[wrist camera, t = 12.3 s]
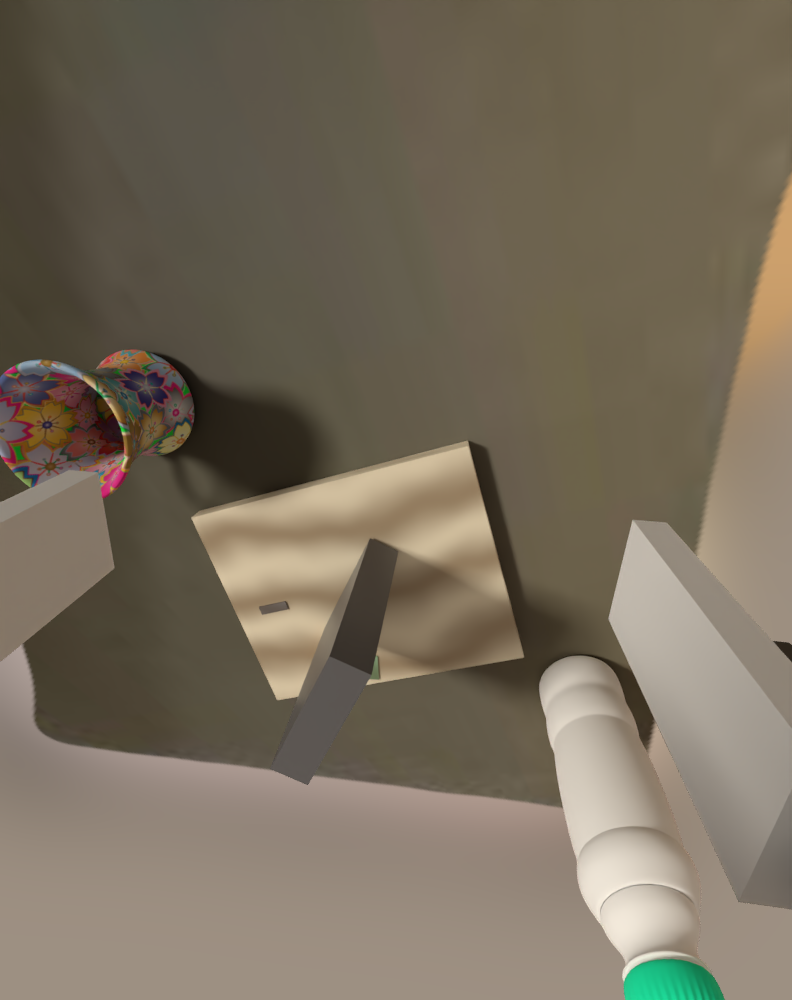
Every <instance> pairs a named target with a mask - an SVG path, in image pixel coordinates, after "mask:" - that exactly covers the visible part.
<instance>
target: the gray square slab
mask: <svg viewBox="0 0 792 1000" xmlns="http://www.w3.org/2000/svg"><path fill="white" fill-rule="evenodd" d="M398 552H399V551H396V550H394V549H392V548H390V547H388V546H386V545H384V544H381V543H379V542H377V541H375V540H373V539H371V538H370V539H369V541H368V543H367V545H366V547H365V549H364V551H363V553H362V555H361V557H360V559H359V561H358V563H357V565H356V567H355V569H354V571H353V573H352V575H351V577H350V579H349V581H348V583H347V585H346V587H345V589H344V591H343V592H342V594H341V596H340V598H339V600H338V602H337V604H336V606H335V608H334V610H333V612H332V614H331V616H330V618H329V620H328V622H327V624H326V626H325V628H324V631H323V633H322V636H321V639H320V641H319V644H318V646H317V649H316V652H315V654H314V657H313V659H312V662H311V665H310V667H309V670H308V672H307V675H306V678H305V680H304V683H303V685H302V688H301V690H300V693H299V696H298V698H297V701H296V703H295V706H294V709H293V711H292V714H291V716H290V719H289V722H288V724H287V727H286V729H285V732H284V734H283V737H282V740H281V742H280V745H279V747H278V750H277V753H276V755H275V758H274V760H273V763H272V766H271V768H270V769H272V770H274V771H276V772H279V773H281V774H284V775H286V776H288V777H290V778H293V779H295V780H297V781H300V782H302V783H304V784H307V785H308V784H309V782H310V780H311V779H312V777H313V775H314V774H315V772H316V770H317V768H318V767H319V765H320V763H321V761H322V760H323V758H324V756H325V755H326V753H327V751H328V749H329V748H330V746H331V744H332V743H333V741H334V739H335V737H336V736H337V734H338V732H339V730H340V729H341V727H342V725H343V724H344V722H345V720H346V718H347V717H348V715H349V713H350V711H351V710H352V708H353V706H354V705H355V703H356V701H357V699H358V698H359V696H360V694H361V693H362V691H363V689H364V687H365V686H366V684H367V682H368V680H369V679H370V677H371V675H372V671H373V666H374V662H375V657H376V653H377V648H378V643H379V639H380V634H381V630H382V625H383V620H384V616H385V611H386V607H387V602H388V598H389V593H390V588H391V584H392V579H393V575H394V570H395V565H396V561H397V556H398Z"/></svg>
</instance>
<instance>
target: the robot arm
mask: <svg viewBox="0 0 792 1000" xmlns="http://www.w3.org/2000/svg"><path fill="white" fill-rule="evenodd" d="M113 569H114V563H113V557H112V551H111V545H110V539H109V534H108V528H107V522H106V516H105V510H104V505H103V499H102V493H101V487H100V482H99V476H98V473H97V472H86V471H75V470H68V471H66V472H64V473H62V474H60V475H58V476H56V477H53V478H51V479H49V480H47V481H45V482H43V483H41V484H39V485H36V486H34V487H32V488H30V489H28V490H26V491H24V492H22V493H19V494H17V495H15V496H13V497H11V498H9V499H7V500H5V501H2V502H0V661H2V660H3V659H4V658H6V657H7V656H8V655H9V654H10V653H12V652H13V651H14V650H15V649H16V648H18V647H19V646H20V645H21V644H23V643H24V642H25V641H26V640H27V639H29V638H30V637H31V636H32V635H34V634H35V633H36V632H37V631H38V630H40V629H41V628H42V627H43V626H45V625H46V624H47V623H48V622H49V621H51V620H52V619H53V618H54V617H56V616H57V615H58V614H59V613H60V612H62V611H63V610H64V609H65V608H66V607H68V606H69V605H70V604H71V603H73V602H74V601H75V600H76V599H77V598H79V597H80V596H81V595H82V594H84V593H85V592H86V591H87V590H88V589H90V588H91V587H92V586H93V585H95V584H96V583H97V582H98V581H99V580H101V579H102V578H103V577H104V576H105V575H107V574H108V573H109V572H110V571H112V570H113ZM609 621H610V623H611V626H612V628H613V630H614V632H615V634H616V637H617V639H618V641H619V643H620V645H621V647H622V650H623V652H624V654H625V656H626V658H627V660H628V663H629V665H630V667H631V669H632V671H633V673H634V676H635V678H636V680H637V682H638V684H639V686H640V689H641V691H642V693H643V695H644V697H645V700H646V702H647V704H648V706H649V708H650V710H651V713H652V715H653V717H654V719H655V721H656V723H657V726H658V728H659V730H660V732H661V734H662V736H663V738H664V741H665V743H666V745H667V747H668V749H669V752H670V754H671V756H672V758H673V760H674V762H675V765H676V767H677V769H678V771H679V773H680V776H681V778H682V780H683V782H684V784H685V786H686V789H687V791H688V793H689V795H690V797H691V799H692V802H693V804H694V806H695V808H696V810H697V812H698V815H699V817H700V819H701V821H702V823H703V825H704V828H705V830H706V832H707V834H708V836H709V838H710V841H711V843H712V845H713V847H714V850H715V852H716V854H717V856H718V858H719V860H720V862H721V865H722V867H723V869H724V871H725V873H726V876H727V878H728V879H729V882H730V884H731V886H732V889H733V891H734V892H735V895H736V897H737V899H738V902H743V903H750V904H758V905H764V906H772V907H779V908H786V909H792V645H791V644H790V643H786V642H777V641H772V640H771V639H770V638H769V636H768V635H767V634H766V633H765V632H764V631H763V630H762V629H761V627H760V626H759V625H758V624H757V623H756V622H755V621H754V620H753V619H752V617H751V616H750V615H749V614H748V613H747V612H746V611H745V610H744V608H743V607H742V606H741V605H740V604H739V603H738V602H737V601H736V600H735V599H734V597H733V596H732V595H731V594H730V593H729V592H728V591H727V589H726V588H725V587H724V586H723V585H722V584H721V583H720V582H719V581H718V580H717V578H716V577H715V576H714V575H713V574H712V573H711V572H710V571H709V569H708V568H707V567H706V566H705V565H704V564H703V563H702V562H701V560H700V559H699V558H698V557H697V556H696V555H695V554H694V553H693V552H692V550H691V549H690V548H689V547H688V546H687V545H686V544H685V543H684V541H683V540H682V539H681V538H680V537H679V536H678V535H677V534H676V533H675V531H674V530H673V529H672V528H671V527H670V526H669V525H668V524H667V523H664V522H652V521H641V520H633V521H632V525H631V529H630V533H629V537H628V541H627V545H626V549H625V553H624V557H623V562H622V566H621V570H620V574H619V578H618V582H617V586H616V590H615V594H614V598H613V602H612V606H611V611H610V615H609Z"/></svg>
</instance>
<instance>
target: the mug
mask: <svg viewBox="0 0 792 1000" xmlns="http://www.w3.org/2000/svg"><path fill="white" fill-rule="evenodd" d="M194 414H195V413H194V403H193V398H192V395H191V392H190V390H189V388H188V386H187V384H186V382H185V380H184V379H183V377H182V376H181V375H180V373H179V372H178V371H177V370H176V369H175V368H174V367H173V366H172V365H171V364H169V363H168V362H167V361H165V360H164V359H162V358H161V357H159V356H157V355H155V354H152V353H149V352H146V351H142V350H122V351H119V352H116V353H114V354H111V355H110V356H108V357H107V358H106V359H104V360H103V361H102V362H101V363H100V364H99V366H98V367H97V369H95V370H80V369H78V368H75V367H73V366H71V365H68V364H65V363H62V362H57V361H52V360H31V361H26V362H23V363H20V364H17V365H15V366H13V367H12V368H10V369H9V370H7V371H6V372H5V373H4V374H3V375H2V376H1V377H0V455H1V457H2V458H3V460H4V461H5V463H6V464H7V465H8V466H9V468H10V469H11V470H12V471H13V472H14V473H15V475H16V476H18V477H19V478H20V479H21V480H22V481H23V482H24V483H25V484H27V485H28V486H29V487H31V488H32V487H34V486H36V485H39V484H41V483H43V482H45V481H47V480H49V479H51V478H53V477H56V476H58V475H60V474H62V473H64V472H66V471H68V470H75V471H86V472H97V473H98V476H99V482H100V487H101V493H102V499H104V498H106V497H107V496H109V495H111V494H112V493H113V492H115V491H116V490H117V489H118V488H119V487H120V485H121V484H122V483H123V481H124V480H125V478H126V476H127V474H128V472H129V469H130V466H131V464H132V462H133V461H134V460H135V459H136V458H137V457H139V456H140V455H146V456H159V455H164V454H167V453H170V452H172V451H174V450H176V449H177V448H179V447H180V446H181V445H182V444H183V443H184V442H185V441H186V439H187V438H188V436H189V434H190V432H191V430H192V427H193V423H194Z"/></svg>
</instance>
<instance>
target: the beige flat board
mask: <svg viewBox="0 0 792 1000" xmlns="http://www.w3.org/2000/svg"><path fill="white" fill-rule="evenodd" d="M192 520H193V523H194V525H195V527H196V529H197V531H198V533H199V535H200V537H201V540H202V542H203V544H204V546H205V548H206V550H207V552H208V554H209V556H210V559H211V561H212V563H213V565H214V567H215V569H216V571H217V573H218V575H219V578H220V580H221V582H222V584H223V586H224V588H225V590H226V592H227V595H228V597H229V599H230V601H231V603H232V605H233V607H234V609H235V611H236V614H237V616H238V618H239V620H240V622H241V624H242V626H243V628H244V631H245V633H246V635H247V637H248V639H249V641H250V643H251V645H252V647H253V650H254V652H255V654H256V656H257V658H258V660H259V662H260V664H261V666H262V669H263V671H264V673H265V675H266V677H267V679H268V681H269V683H270V686H271V688H272V690H273V692H274V694H275V696H276V698H277V700H281V699H287V698H293V697H298V696H299V693H300V690H301V688H302V685H303V683H304V680H305V678H306V675H307V672H308V670H309V667H310V665H311V662H312V659H313V657H314V654H315V652H316V649H317V646H318V644H319V641H320V639H321V636H322V633H323V631H324V628H325V626H326V624H327V622H328V620H329V618H330V616H331V614H332V612H333V610H334V608H335V606H336V604H337V602H338V600H339V598H340V596H341V594H342V592H343V591H344V589H345V587H346V585H347V583H348V581H349V579H350V577H351V575H352V573H353V571H354V569H355V567H356V565H357V563H358V561H359V559H360V557H361V555H362V553H363V551H364V549H365V547H366V545H367V543H368V541H369V539H370V538H371V539H373V540H375V541H377V542H379V543H381V544H384V545H386V546H388V547H390V548H392V549H394V550H396V551H399V552H398V556H397V561H396V565H395V570H394V575H393V579H392V584H391V588H390V593H389V598H388V602H387V607H386V611H385V616H384V620H383V625H382V630H381V634H380V639H379V643H378V648H377V653H376V657H375V662H374V666H373V671H372V675H371V677H370V679H369V680H368V682H367V684H366V685H368V684H374V683H380V682H385V681H391V680H397V679H403V678H409V677H414V676H420V675H426V674H432V673H438V672H443V671H449V670H455V669H461V668H467V667H472V666H478V665H484V664H490V663H496V662H501V661H507V660H513V659H519V658H524V654H523V649H522V644H521V641H520V637H519V633H518V629H517V625H516V622H515V618H514V614H513V610H512V606H511V603H510V599H509V595H508V591H507V587H506V583H505V580H504V576H503V572H502V568H501V564H500V561H499V557H498V553H497V549H496V545H495V542H494V538H493V534H492V530H491V526H490V523H489V519H488V515H487V511H486V507H485V504H484V500H483V496H482V492H481V488H480V484H479V481H478V477H477V473H476V469H475V465H474V462H473V458H472V454H471V450H470V446H469V443H468V441H464V442H460V443H457V444H453V445H449V446H445V447H441V448H437V449H434V450H430V451H426V452H422V453H418V454H415V455H411V456H407V457H403V458H399V459H395V460H392V461H388V462H384V463H380V464H376V465H373V466H369V467H365V468H361V469H357V470H353V471H350V472H346V473H342V474H338V475H334V476H331V477H327V478H323V479H319V480H315V481H311V482H308V483H304V484H300V485H296V486H292V487H289V488H285V489H281V490H277V491H273V492H270V493H266V494H262V495H258V496H254V497H250V498H247V499H243V500H239V501H235V502H231V503H228V504H224V505H220V506H216V507H212V508H208V509H205V510H201V511H199V512H197V513H196V514H195V515H194V516H193V517H192Z"/></svg>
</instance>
